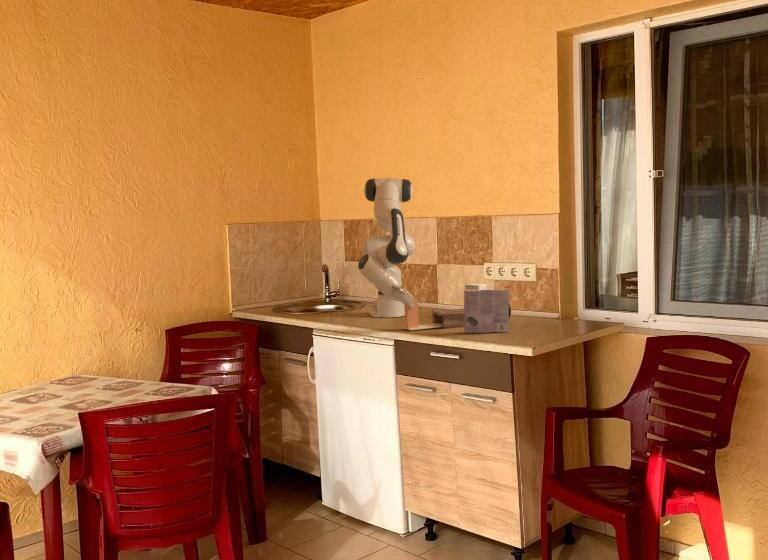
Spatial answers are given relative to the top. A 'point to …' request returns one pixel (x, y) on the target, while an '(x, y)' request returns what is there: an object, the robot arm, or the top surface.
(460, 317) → the walnut dispenser
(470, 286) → the skincare box
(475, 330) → the cake pan box
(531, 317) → the top surface
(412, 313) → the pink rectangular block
